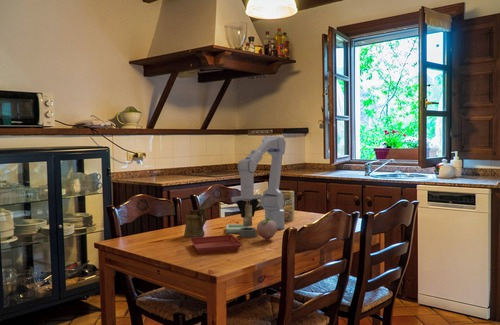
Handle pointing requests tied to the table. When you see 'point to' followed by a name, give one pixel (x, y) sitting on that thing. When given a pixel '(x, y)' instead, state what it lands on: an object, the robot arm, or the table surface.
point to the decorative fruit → (267, 228)
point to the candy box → (288, 205)
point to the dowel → (248, 216)
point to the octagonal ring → (247, 232)
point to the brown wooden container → (196, 221)
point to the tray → (234, 228)
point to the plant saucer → (216, 244)
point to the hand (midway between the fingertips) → (247, 216)
